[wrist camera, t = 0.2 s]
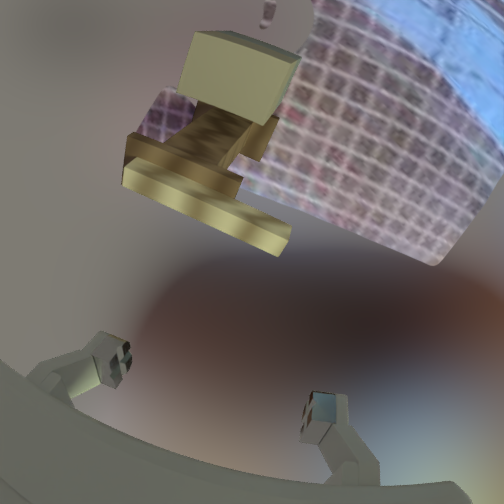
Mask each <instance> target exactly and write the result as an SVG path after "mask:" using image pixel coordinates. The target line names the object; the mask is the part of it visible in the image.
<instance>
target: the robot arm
mask: <svg viewBox="0 0 504 504" xmlns="http://www.w3.org/2000/svg"><path fill="white" fill-rule="evenodd" d="M129 349H130V342H128V341H126V340H123V339H121V338H118V337H116V336H114V335H111V334H108V333H106V332H104V331H99V332H98V333H97V334H96V335H95V336H94V337H93V339H91V341H90V342H89V343H88V344H87V345H86V346H85V347H84V348H83V349H82V350H81V351H80V350H77V351H74V352H71V353H67V354H64V355H61V356H59V357H55V358H52V359H49V360H46V361H43V362H40V363H39V364H38V365H37V366H36V367H35V368H34V369H33V370H32V371H31V372H30V373H29V374H28V375H27V376H26V377H24V376H22V375H21V374H19V373H18V372H17V371H15V370H14V369H12V368H11V367H10V366H8V365H7V364H6V363H4V362H3V361H2V360H1V359H0V504H473V503H472V500H471V499H470V498H469V496H468V495H467V494H466V493H465V492H464V491H463V490H462V489H461V488H460V487H459V486H458V485H457V484H455V483H454V482H452V481H442V482H435V483H425V484H414V485H397V486H380V466H379V461H378V460H377V459H376V457H375V456H374V455H373V453H372V452H371V451H370V449H369V448H368V447H367V446H366V444H365V443H364V441H363V440H362V439H361V438H360V436H359V435H358V433H357V432H356V431H355V429H354V428H353V427H352V426H350V425H348V399H347V396H346V395H341V394H334V393H327V392H321V391H314V390H313V391H312V392H311V393H310V395H309V401H307V402H306V404H305V407H304V410H303V415H302V423H303V426H302V428H301V431H300V439H299V442H302V443H308V444H314V445H318V447H319V449H320V451H321V453H322V455H323V457H324V459H325V461H326V462H327V464H328V466H329V468H330V470H331V472H332V474H333V475H332V476H331V477H330V478H329V479H328V480H327V481H326V482H325V483H324V484H317V483H308V482H299V481H292V480H285V479H278V478H272V477H266V476H261V475H255V474H251V473H246V472H242V471H237V470H233V469H229V468H225V467H221V466H217V465H213V464H210V463H206V462H203V461H199V460H196V459H193V458H190V457H187V456H183V455H180V454H177V453H174V452H171V451H169V450H166V449H163V448H160V447H157V446H155V445H152V444H150V443H147V442H144V441H142V440H140V439H137V438H135V437H133V436H130V435H128V434H126V433H123V432H121V431H119V430H117V429H114V428H112V427H110V426H108V425H106V424H104V423H102V422H100V421H98V420H96V419H94V418H92V417H90V416H88V415H86V414H84V413H82V412H80V411H78V410H77V409H75V407H74V405H73V403H72V401H71V399H72V398H74V397H75V396H78V395H79V394H82V393H83V392H85V391H87V390H89V389H91V388H93V387H95V386H97V385H99V384H100V383H102V384H105V385H107V386H109V387H112V388H114V389H116V388H117V387H118V385H119V384H120V382H121V381H122V375H123V374H126V373H127V372H128V371H129V369H130V367H131V364H132V355H131V353H130V352H129Z"/></svg>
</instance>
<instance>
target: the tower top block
mask: <svg viewBox="0 0 504 504" xmlns="http://www.w3.org/2000/svg"><path fill="white" fill-rule="evenodd" d="M296 62H297V60H296V59H294V58H291V57H289V56H286V55H284V54H281V53H279V52H276V51H274V50H271V49H269V48H266V47H263V46H260V45H258V44H255V43H252V42H249V41H246V40H243V39H240V38H237V37H234V36H231V35H228V34H224V33H221V32H217V31H195V33H194V36H193V39H192V42H191V45H190V48H189V51H188V55H187V58H186V61H185V64H184V67H183V71H182V74H181V77H180V81H179V84H178V88H177V91H176V93H179V94H182V95H185V96H188V97H191V98H194V99H197V100H200V101H202V102H205V103H208V104H210V105H213V106H216V107H218V108H221V109H224V110H226V111H229V112H231V113H234V114H236V115H239V116H241V117H243V118H246V119H248V120H251V121H253V122H255V123H258V124H260V125H262V126H263V125H264V124H265V123H266V122H267V120H268V119H269V118H270V116H271V115H272V114H273V112H274V110H275V108H276V106H277V103H278V101H279V99H280V97H281V95H282V92H283V90H284V88H285V86H286V84H287V81H288V79H289V77H290V75H291V73H292V71H293V69H294V66H295V64H296Z"/></svg>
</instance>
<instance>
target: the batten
mask: <svg viewBox="0 0 504 504" xmlns="http://www.w3.org/2000/svg"><path fill="white" fill-rule="evenodd" d="M122 186H124V187H126V188H128V189H131V190H133V191H135V192H137V193H139V194H141V195H144V196H146V197H148V198H150V199H152V200H155V201H157V202H159V203H161V204H164V205H166V206H168V207H170V208H172V209H175V210H177V211H179V212H181V213H183V214H185V215H188V216H190V217H192V218H194V219H196V220H199V221H201V222H203V223H205V224H207V225H210V226H212V227H214V228H216V229H218V230H220V231H223V232H225V233H227V234H229V235H231V236H234V237H236V238H238V239H240V240H242V241H244V242H247V243H249V244H251V245H253V246H255V247H257V248H260V249H262V250H264V251H266V252H268V253H270V254H273V255H275V256H277V257H279V255H280V254H281V252H282V250H283V249H284V247H285V246H286V244H287V242H288V241H289V236H290V233H291V229H292V226H291V225H289V224H287V223H285V222H283V221H281V220H279V219H276V218H274V217H272V216H270V215H268V214H266V213H264V212H262V211H259V210H257V209H255V208H253V207H250V206H248V205H246V204H244V203H242V202H240V201H238V200H235V199H233V198H231V197H229V196H227V195H224V194H222V193H220V192H218V191H216V190H213V189H211V188H209V187H207V186H204V185H202V184H200V183H197V182H195V181H193V180H191V179H188V178H186V177H184V176H181V175H179V174H177V173H174V172H172V171H170V170H167V169H165V168H163V167H160V166H158V165H155V164H153V163H151V162H148V161H146V160H143V159H141V158H139V157H136V158H135V159H134V160H132V161H131V162H130V163H129V164H127V165H126V166H125V167H124V174H123V184H122Z"/></svg>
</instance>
